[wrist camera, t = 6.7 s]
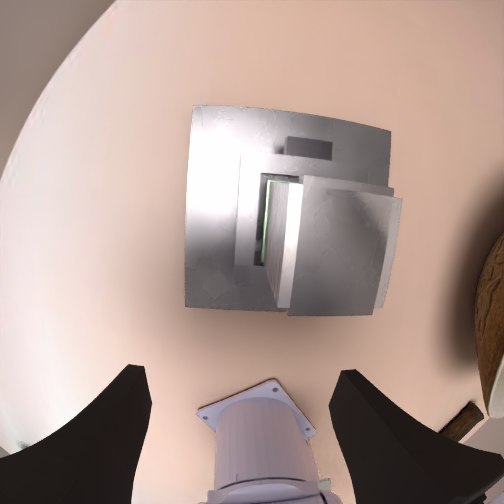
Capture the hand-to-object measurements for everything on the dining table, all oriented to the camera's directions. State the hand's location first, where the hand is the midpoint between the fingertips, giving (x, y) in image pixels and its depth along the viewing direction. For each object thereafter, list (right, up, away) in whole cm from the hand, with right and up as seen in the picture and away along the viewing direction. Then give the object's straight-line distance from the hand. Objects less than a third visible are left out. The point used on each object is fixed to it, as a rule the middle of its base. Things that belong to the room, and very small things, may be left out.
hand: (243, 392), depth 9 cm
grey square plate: (+3, +8, +9) cm, 12 cm away
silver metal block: (+3, +7, +5) cm, 9 cm away
